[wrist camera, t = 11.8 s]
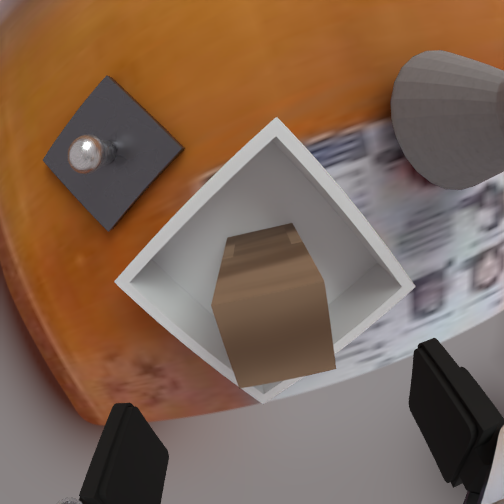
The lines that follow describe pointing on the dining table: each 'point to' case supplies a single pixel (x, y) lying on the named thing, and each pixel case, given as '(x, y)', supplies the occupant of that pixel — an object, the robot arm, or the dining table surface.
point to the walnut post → (272, 308)
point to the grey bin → (257, 218)
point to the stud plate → (131, 151)
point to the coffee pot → (450, 118)
